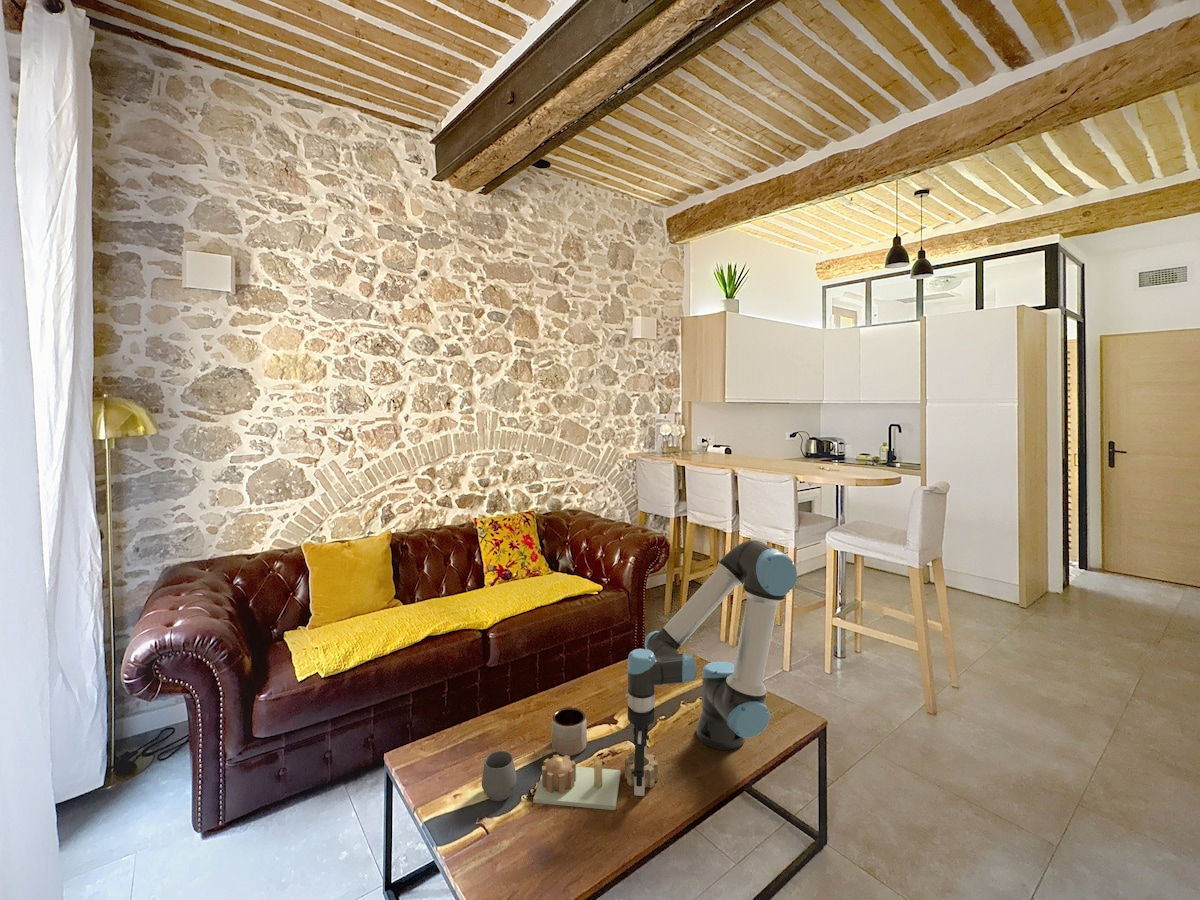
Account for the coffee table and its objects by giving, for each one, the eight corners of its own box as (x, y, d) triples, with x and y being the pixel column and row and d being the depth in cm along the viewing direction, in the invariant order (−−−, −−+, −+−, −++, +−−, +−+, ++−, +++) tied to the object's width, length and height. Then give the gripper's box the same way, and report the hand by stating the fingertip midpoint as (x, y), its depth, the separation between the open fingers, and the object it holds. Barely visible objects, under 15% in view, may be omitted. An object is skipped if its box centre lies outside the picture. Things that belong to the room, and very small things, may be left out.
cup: (500, 812, 142) (499, 775, 141) (474, 798, 147) (473, 763, 146) (524, 790, 150) (523, 755, 149) (498, 778, 155) (497, 744, 154)
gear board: (620, 774, 156) (620, 748, 155) (615, 810, 142) (615, 782, 141) (545, 767, 159) (545, 742, 158) (533, 802, 145) (532, 775, 144)
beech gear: (658, 768, 158) (658, 752, 158) (657, 791, 149) (657, 773, 148) (626, 766, 159) (626, 750, 159) (623, 788, 150) (623, 771, 150)
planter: (582, 759, 163) (582, 728, 162) (547, 754, 165) (547, 724, 164) (590, 737, 173) (590, 708, 172) (557, 733, 175) (556, 705, 175)
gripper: (630, 682, 165) (630, 748, 167) (623, 731, 140) (623, 808, 142) (655, 684, 164) (655, 750, 166) (652, 733, 139) (652, 811, 141)
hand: (640, 777), depth 154 cm, fingers open, 13 cm apart
